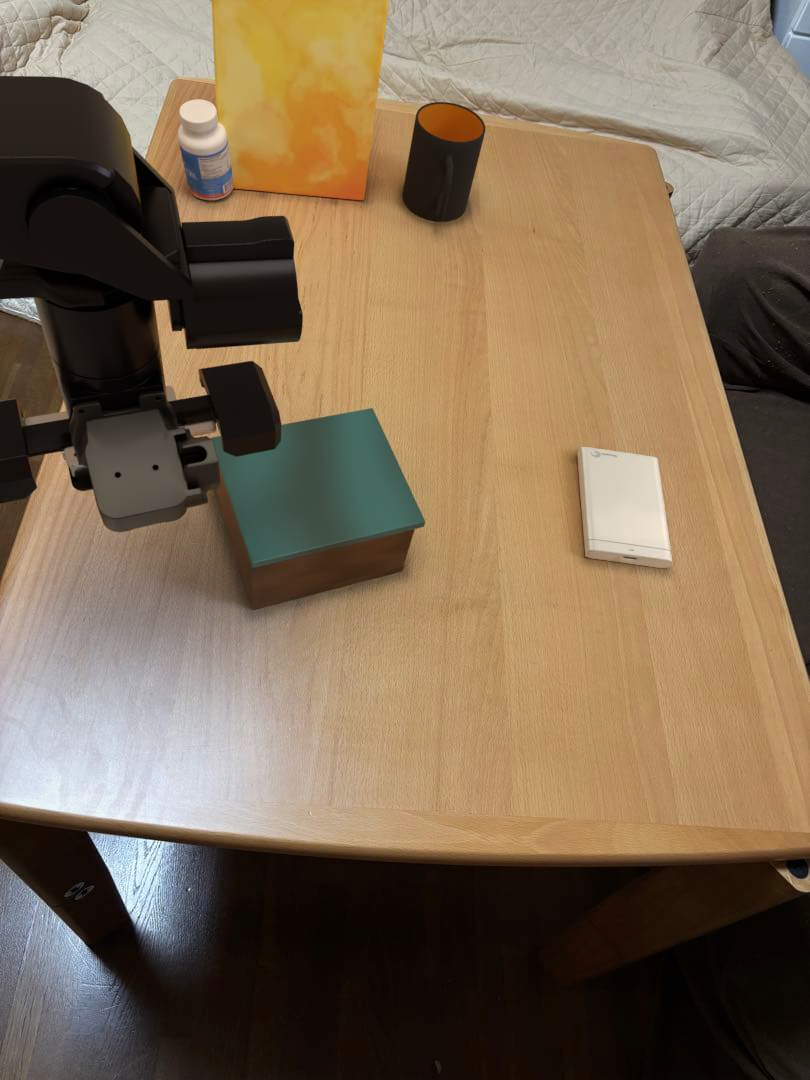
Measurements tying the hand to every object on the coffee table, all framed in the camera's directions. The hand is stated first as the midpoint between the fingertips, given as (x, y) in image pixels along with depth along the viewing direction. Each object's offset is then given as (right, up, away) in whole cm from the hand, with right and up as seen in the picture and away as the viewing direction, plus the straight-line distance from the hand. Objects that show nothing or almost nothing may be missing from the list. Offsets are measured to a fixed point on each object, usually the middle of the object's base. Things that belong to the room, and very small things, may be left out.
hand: (139, 505), depth 56 cm
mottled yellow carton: (+5, +45, +44) cm, 63 cm away
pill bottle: (-4, +40, +39) cm, 56 cm away
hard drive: (+40, 0, +23) cm, 46 cm away
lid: (+11, +2, +10) cm, 15 cm away
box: (+10, -2, +15) cm, 18 cm away
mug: (+22, +39, +44) cm, 63 cm away
